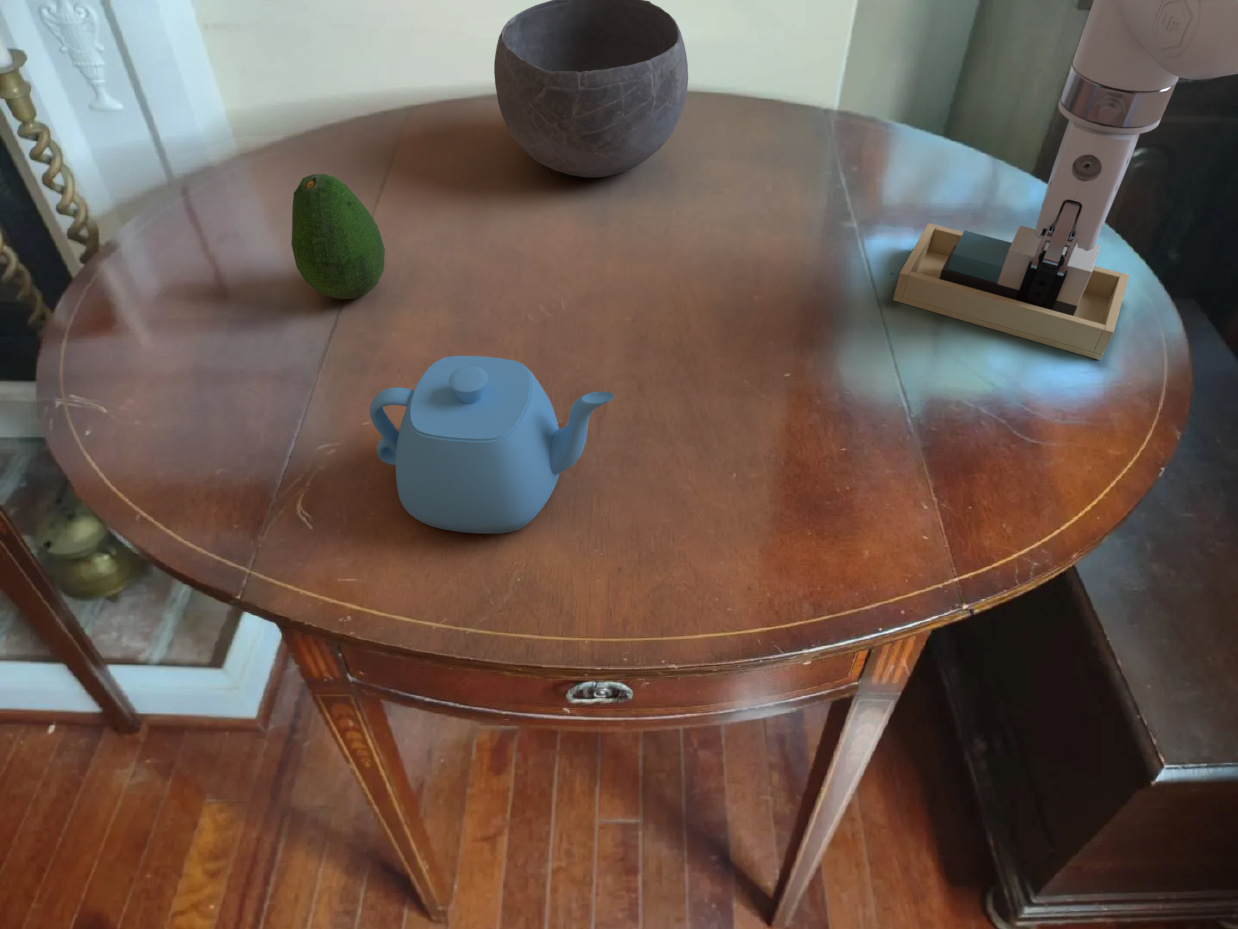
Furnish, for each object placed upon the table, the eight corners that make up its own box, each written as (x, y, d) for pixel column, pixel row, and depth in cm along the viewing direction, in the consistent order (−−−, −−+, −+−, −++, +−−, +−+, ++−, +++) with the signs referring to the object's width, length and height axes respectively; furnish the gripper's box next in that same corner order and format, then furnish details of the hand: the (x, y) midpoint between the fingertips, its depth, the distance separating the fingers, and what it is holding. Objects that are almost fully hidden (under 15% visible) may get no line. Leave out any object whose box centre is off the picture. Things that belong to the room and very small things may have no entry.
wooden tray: (1116, 302, 88) (1129, 274, 86) (1100, 360, 83) (1113, 332, 80) (921, 249, 94) (928, 222, 92) (892, 300, 89) (899, 272, 86)
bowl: (505, 120, 114) (493, -11, 103) (674, 116, 114) (680, -15, 104) (500, 211, 100) (485, 70, 89) (693, 205, 100) (702, 64, 89)
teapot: (602, 453, 60) (326, 431, 61) (604, 559, 67) (359, 536, 69) (624, 330, 68) (382, 313, 70) (624, 436, 76) (406, 419, 77)
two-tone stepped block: (1081, 290, 87) (1100, 245, 83) (1072, 317, 84) (1092, 271, 80) (951, 255, 91) (964, 210, 87) (938, 280, 88) (951, 235, 84)
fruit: (316, 270, 92) (284, 155, 84) (397, 268, 92) (374, 154, 84) (299, 319, 87) (263, 202, 78) (385, 318, 87) (359, 201, 78)
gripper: (1152, 153, 67) (1065, 354, 80) (1179, 62, 77) (1097, 254, 90) (1043, 129, 69) (975, 328, 82) (1083, 45, 79) (1017, 233, 92)
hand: (1040, 287), depth 86 cm, fingers closed on two-tone stepped block, 4 cm apart
